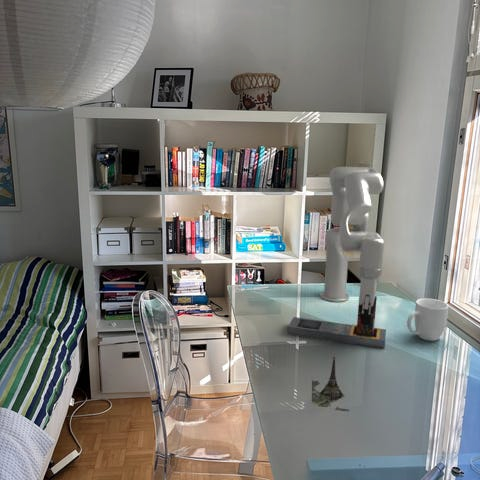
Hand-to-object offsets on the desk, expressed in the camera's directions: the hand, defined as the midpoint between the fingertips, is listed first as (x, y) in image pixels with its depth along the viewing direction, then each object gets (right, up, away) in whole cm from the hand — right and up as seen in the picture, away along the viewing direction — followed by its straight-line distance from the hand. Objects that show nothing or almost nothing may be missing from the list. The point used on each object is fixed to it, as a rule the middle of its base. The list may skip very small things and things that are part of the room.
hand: (366, 320), depth 171 cm
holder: (-10, -6, +4) cm, 12 cm away
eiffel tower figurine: (-19, -16, -35) cm, 43 cm away
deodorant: (0, -6, +1) cm, 6 cm away
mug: (+23, -7, +4) cm, 24 cm away
